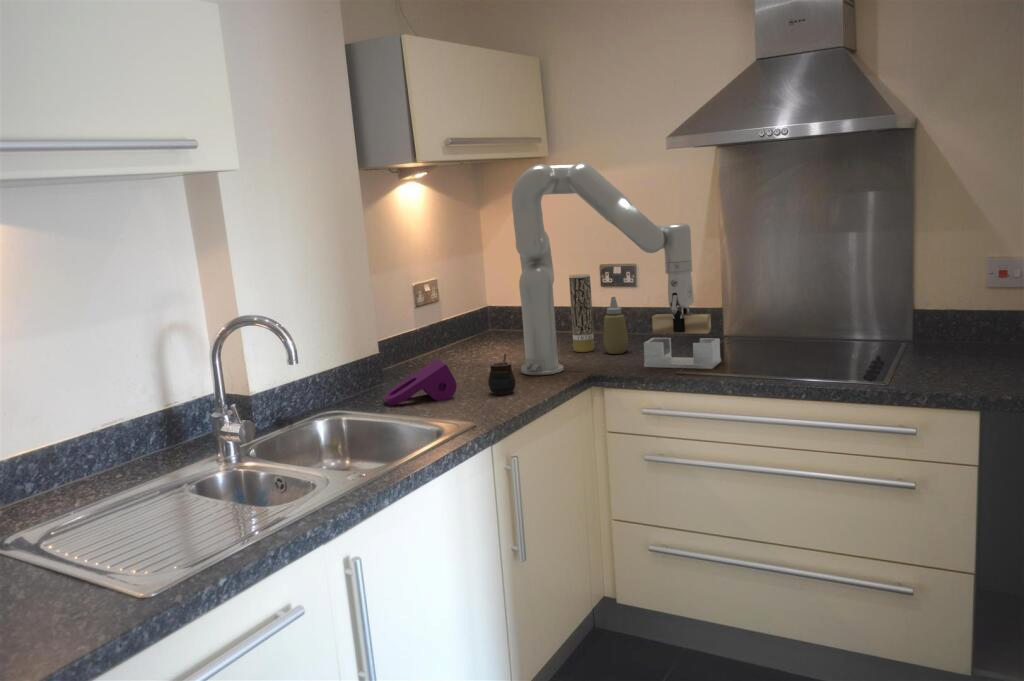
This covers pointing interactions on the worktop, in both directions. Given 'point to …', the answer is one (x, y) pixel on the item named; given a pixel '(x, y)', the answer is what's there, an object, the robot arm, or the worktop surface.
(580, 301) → the paper tube
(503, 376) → the mate gourd
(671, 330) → the rail
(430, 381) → the mounting bracket
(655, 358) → the bracket
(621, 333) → the squeeze bottle
